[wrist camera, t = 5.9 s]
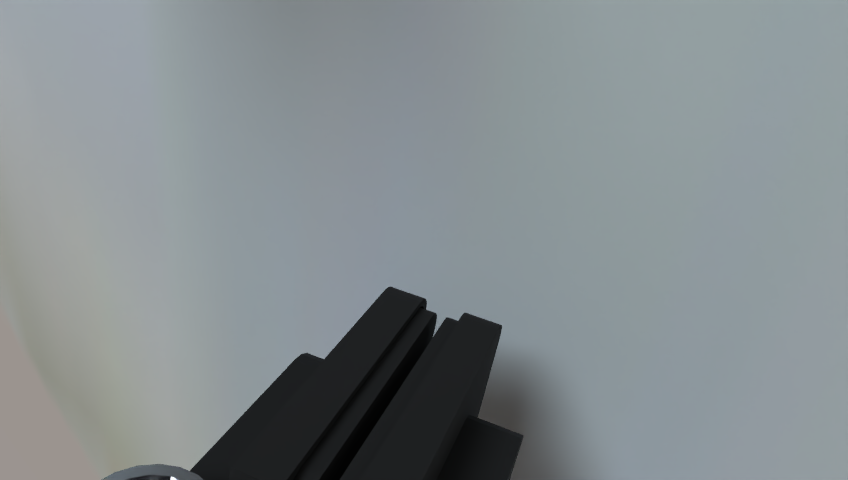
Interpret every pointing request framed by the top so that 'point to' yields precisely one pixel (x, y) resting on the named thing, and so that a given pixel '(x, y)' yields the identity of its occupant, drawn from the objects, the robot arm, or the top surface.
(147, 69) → the top surface
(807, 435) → the top surface
